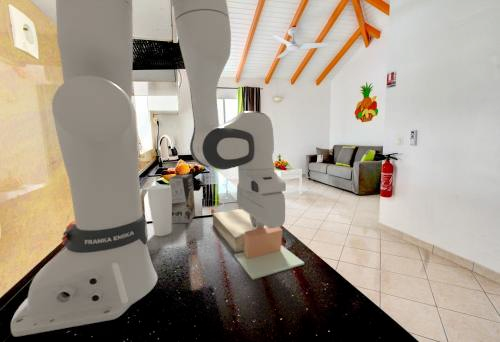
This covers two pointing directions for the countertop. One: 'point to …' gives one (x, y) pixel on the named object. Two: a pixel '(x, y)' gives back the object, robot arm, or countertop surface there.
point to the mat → (268, 263)
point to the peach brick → (262, 241)
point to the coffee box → (182, 198)
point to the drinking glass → (161, 209)
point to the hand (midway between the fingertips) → (257, 232)
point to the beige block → (233, 227)
